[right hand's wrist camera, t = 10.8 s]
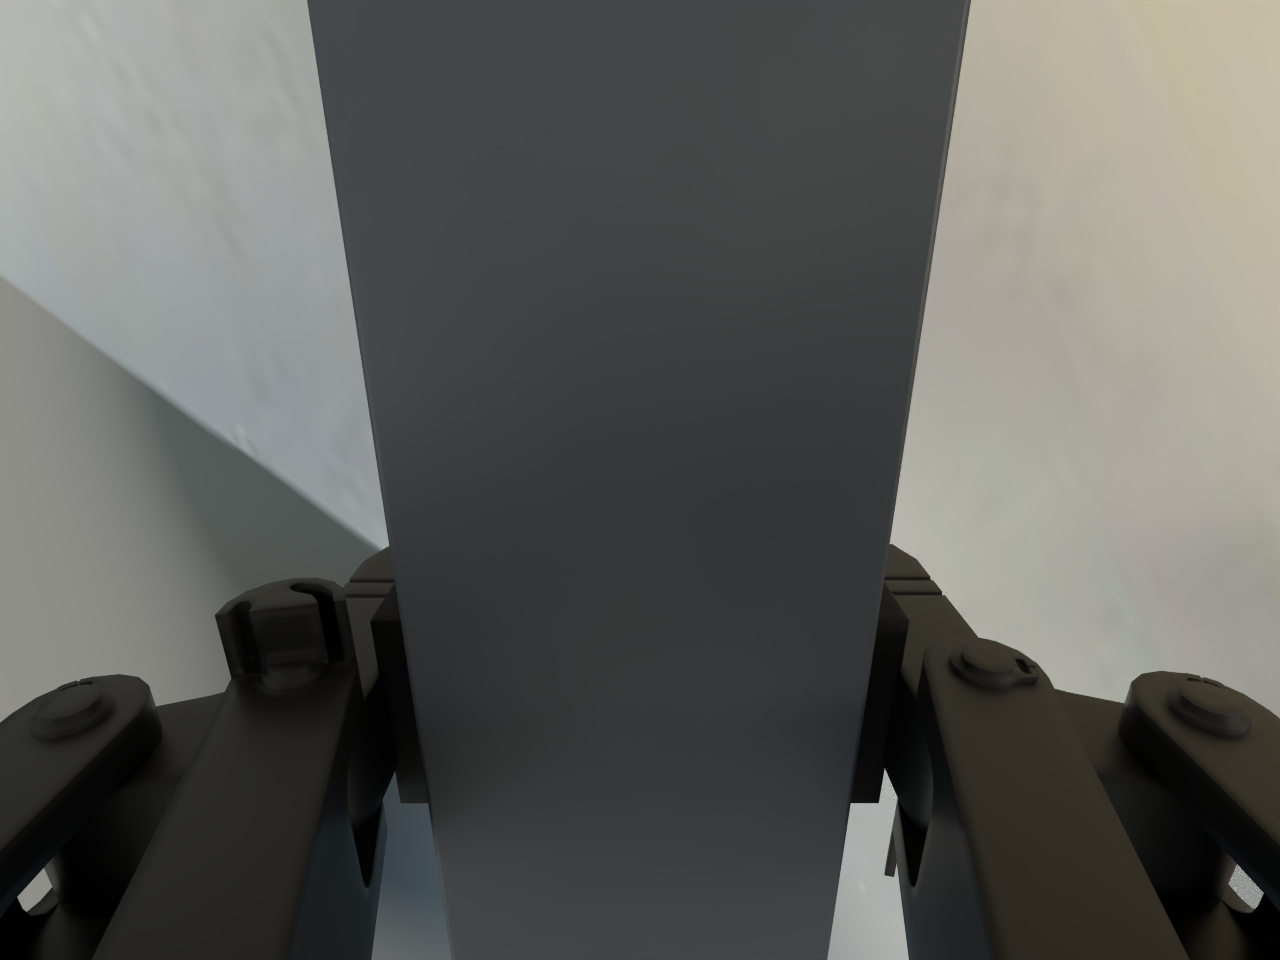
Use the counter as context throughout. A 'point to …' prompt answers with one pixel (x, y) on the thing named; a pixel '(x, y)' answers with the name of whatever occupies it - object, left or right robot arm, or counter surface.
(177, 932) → the right robot arm
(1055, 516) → the counter surface
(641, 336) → the beam
